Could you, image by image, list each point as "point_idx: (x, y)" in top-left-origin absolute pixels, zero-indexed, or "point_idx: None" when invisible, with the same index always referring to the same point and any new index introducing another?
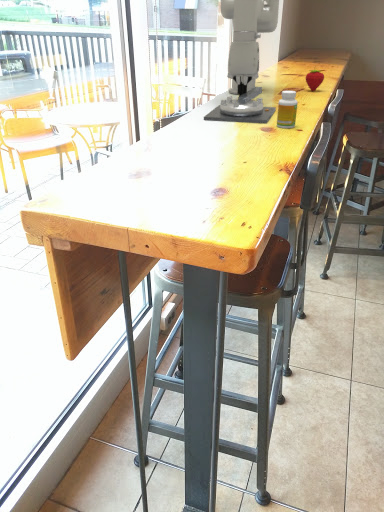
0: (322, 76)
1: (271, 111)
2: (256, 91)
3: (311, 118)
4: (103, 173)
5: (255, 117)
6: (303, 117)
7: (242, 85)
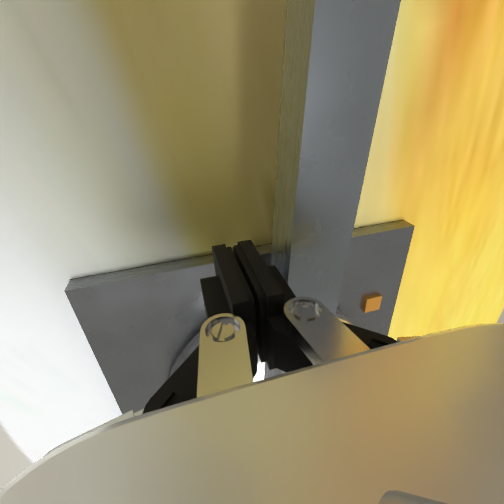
0: None
1: (387, 313)
2: (352, 208)
3: (498, 294)
4: None
5: None
6: (479, 293)
7: (270, 367)
